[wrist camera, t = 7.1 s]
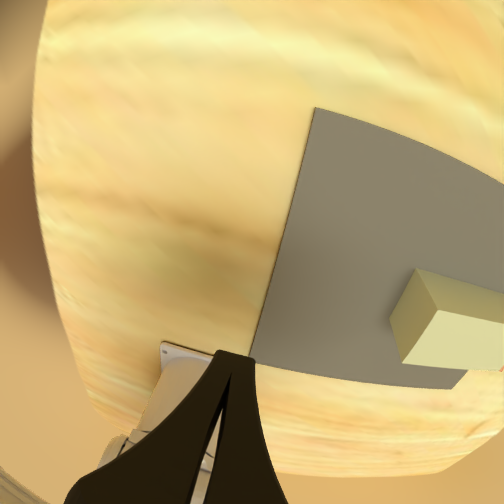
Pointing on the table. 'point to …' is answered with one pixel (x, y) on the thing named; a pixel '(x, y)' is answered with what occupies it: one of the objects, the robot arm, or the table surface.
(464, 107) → the table surface
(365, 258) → the rubber mat
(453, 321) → the sage block
